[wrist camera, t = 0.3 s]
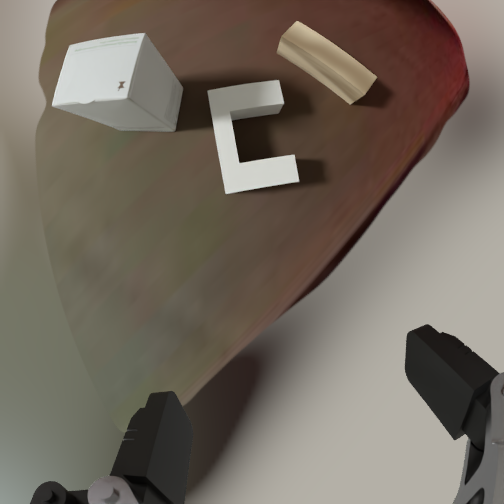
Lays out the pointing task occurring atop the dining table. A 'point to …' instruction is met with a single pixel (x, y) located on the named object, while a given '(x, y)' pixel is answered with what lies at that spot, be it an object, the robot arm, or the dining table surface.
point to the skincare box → (120, 84)
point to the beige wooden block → (325, 62)
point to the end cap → (223, 112)
